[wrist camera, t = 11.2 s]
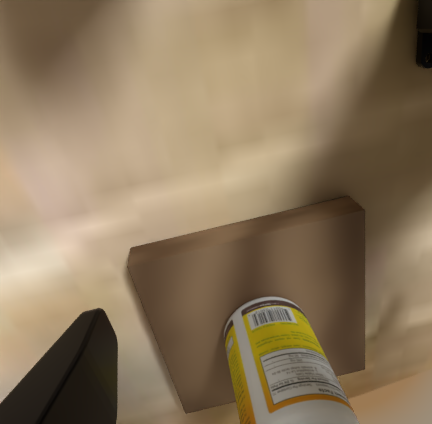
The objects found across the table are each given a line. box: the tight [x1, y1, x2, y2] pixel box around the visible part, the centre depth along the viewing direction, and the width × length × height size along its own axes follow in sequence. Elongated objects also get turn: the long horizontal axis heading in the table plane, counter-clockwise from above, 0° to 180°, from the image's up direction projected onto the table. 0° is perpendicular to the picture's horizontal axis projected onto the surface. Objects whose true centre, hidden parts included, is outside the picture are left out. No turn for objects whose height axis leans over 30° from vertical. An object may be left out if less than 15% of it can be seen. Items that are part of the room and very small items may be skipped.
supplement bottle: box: [224, 297, 359, 424], centre depth 19 cm, size 6×6×10 cm
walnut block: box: [128, 196, 365, 414], centre depth 24 cm, size 14×14×2 cm
